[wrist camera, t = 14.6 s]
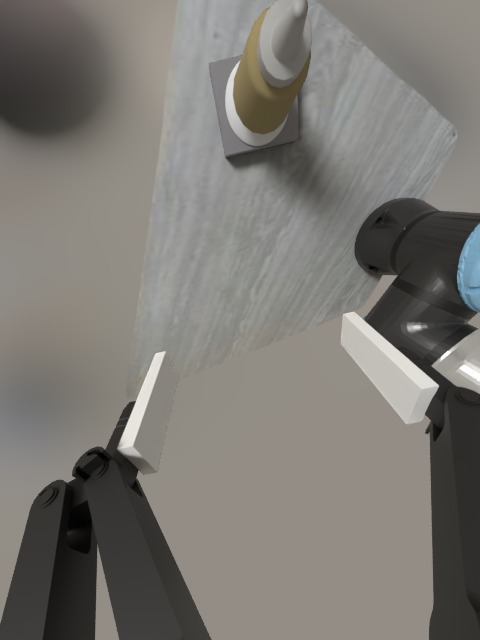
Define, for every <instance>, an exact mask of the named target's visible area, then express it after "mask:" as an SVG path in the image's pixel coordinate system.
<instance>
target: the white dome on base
mask: <svg viewBox="0 0 480 640" xmlns="http://www.w3.org/2000/svg"><path fill="white" fill-rule="evenodd" d="M241 57H242V55H240V56H236V57H232V58H228V59H224V60H220V61H216V62H212V63H209V69H210V76H211V82H212V87H213V93H214V98H215V103H216V109H217V114H218V120H219V125H220V131H221V136H222V142H223V147H224V153H225V158H227V157H231V156H236V155H240V154H244V153H248V152H252V151H257V150H261V149H265V148H269V147H274V146H278V145H282V144H286V143H291V142H294V141H296V140H297V139H299V124H298V95H297V97H296V99H295V101H294V103H293V105H292V107H291V109H290V111H289V112H288V114H287V116H286V118H285V120H284V122H283V123H282V124H281V125H280V126H279V127H278V128H277V129H276V130H275V131H273V132H270V133H267V134H264V135H263V134H258V133H253V132H251V131H250V130H249V129H248V128H247V127H245V126H244V125H243V124H242V122H241V120H240V118H239V116H238V115H237V113H236V109H235V104H234V99H233V86H234V77H235V74H236V71H237V68H238V66H239V63H240V60H241Z"/></svg>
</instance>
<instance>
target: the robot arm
mask: <svg viewBox="0 0 480 640" xmlns="http://www.w3.org/2000/svg"><path fill="white" fill-rule="evenodd" d="M355 256H356V259H357V262H358V263H359V265H360V266H361V267H362V268H364V269H365V270H367V271H369V272H371V273H374V274H379V275H398V276H397V277H396V279H395V280H394V281H393V283H392V284H391V285H390V286H389V288H388V289H387V290H386V292H385V293H384V294H383V296H382V297H381V298H380V299H379V301H378V302H377V303H376V305H375V306H374V307H373V309H372V310H371V311H370V312H369V313H368V315H367V316H365V317H364V318H363V319H362V318H360V317H359V316H358V315H357V314H356V313H355V312H350V313H345V314H343V322H342V333H341V345H342V346H343V347H344V348H345V350H346V351H347V352H348V353H349V355H350V356H351V357H352V358H353V359H354V361H355V362H356V363H357V364H358V366H359V367H360V368H361V369H362V370H363V372H364V373H365V374H366V375H367V377H368V378H369V379H370V380H371V381H372V383H373V384H374V385H375V386H376V388H377V389H378V390H379V391H380V392H381V394H382V395H383V396H384V397H385V399H386V400H387V401H388V402H389V404H390V405H391V406H392V407H393V408H394V410H395V411H396V412H397V413H398V414H399V416H400V417H401V418H402V419H403V421H404V422H405V423H406V424H411V423H416V422H421V421H422V420H423V417H424V416H425V415H426V416H427V417H428V418H429V419H430V420H431V422H430V424H429V426H428V428H427V429H426V432H425V433H426V434H428V433H429V432H430V461H431V462H430V463H431V505H432V546H433V591H434V605H433V611H432V614H431V618H430V626H429V640H480V329H478V328H476V327H473V326H471V325H469V324H468V323H467V322H468V321H469V320H470V319H471V318H472V317H474V316H475V315H476V314H477V313H478V312H480V213H466V212H449V211H439V210H438V209H436V208H434V207H433V206H431V205H429V204H428V203H426V202H424V201H422V200H420V199H415V198H398V199H394V200H391V201H389V202H387V203H385V204H383V205H381V206H380V207H379V208H377V209H376V210H375V211H374V212H373V213H372V214H371V215H370V216H369V217H368V218H367V219H366V221H365V222H364V223H363V225H362V227H361V228H360V230H359V233H358V235H357V238H356V242H355ZM178 379H179V376H178V374H177V372H176V370H175V368H174V366H173V364H172V363H171V361H170V359H169V357H168V355H167V353H166V351H165V352H160V353H156V354H155V356H154V359H153V361H152V364H151V366H150V369H149V371H148V373H147V376H146V378H145V381H144V383H143V386H142V388H141V391H140V393H139V396H138V398H137V401H134V402H130V403H129V404H128V405H127V406H126V407H125V409H124V410H123V412H122V414H121V416H120V419H119V421H118V423H117V425H116V428H115V430H114V432H113V434H112V436H111V439H110V441H109V443H108V445H107V447H106V450H104V449H103V448H102V447H95V448H92V449H90V450H88V451H87V452H86V453H85V454H83V455H82V456H81V457H80V458H79V460H78V461H77V462H76V464H75V466H74V469H73V472H72V476H74V477H75V478H76V479H74V480H72V481H70V482H68V483H67V482H65V481H63V480H56V481H54V482H52V483H51V484H49V485H48V486H46V487H45V488H44V489H43V490H42V491H41V492H40V493H39V494H38V496H37V497H36V499H35V500H34V502H33V504H32V506H31V509H30V512H29V517H28V520H27V524H26V528H25V532H24V536H23V539H22V543H21V547H20V551H19V555H18V559H17V563H16V566H15V570H14V574H13V577H12V581H11V586H10V589H9V593H8V597H7V600H6V604H5V608H4V612H3V616H2V620H1V623H0V640H95V612H96V576H97V575H96V574H97V544H98V548H99V552H100V556H101V561H102V565H103V570H104V574H105V579H106V583H107V587H108V592H109V596H110V600H111V605H112V609H113V614H114V618H115V622H116V627H117V631H118V635H119V640H211V638H210V636H209V634H208V632H207V629H206V627H205V625H204V623H203V620H202V618H201V616H200V614H199V612H198V610H197V607H196V605H195V603H194V601H193V599H192V596H191V594H190V592H189V590H188V588H187V586H186V583H185V581H184V579H183V577H182V575H181V572H180V571H179V568H178V566H177V564H176V562H175V560H174V557H173V555H172V553H171V551H170V548H169V546H168V544H167V542H166V540H165V538H164V536H163V533H162V531H161V529H160V527H159V525H158V522H157V520H156V518H155V516H154V514H153V511H152V509H151V507H150V505H149V503H148V501H147V498H146V496H145V494H144V492H143V490H142V488H141V485H140V483H139V481H138V480H137V479H136V477H137V473H138V470H139V471H140V472H141V473H142V474H143V475H145V474H150V473H156V472H158V467H159V463H160V458H161V454H162V450H163V445H164V441H165V436H166V432H167V427H168V423H169V418H170V414H171V410H172V405H173V400H174V396H175V392H176V387H177V383H178Z"/></svg>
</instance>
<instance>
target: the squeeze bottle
mask: <svg viewBox="0 0 480 640" xmlns="http://www.w3.org/2000/svg"><path fill="white" fill-rule="evenodd" d="M307 11H308V2H307V0H278V1H276V2H275V3H274V4H273V6H272V7H269V8H267V9H265V10H264V12H263V13H262V14H261V15H260V16H259V17H258V18H257V20H256V21H255V22H254V25H253V27H252V30H251V32H250V35H249V37H248V40H247V43H246V46H245V49H244V51H243V54H242V57H241V60H240V63H239V66H238V68H237V71H236V74H235V77H234V86H233V99H234V104H235V109H236V113H237V115H238V116H239V118H240V120H241V122H242V124H243V125H244V126H245V127H247V128H248V129H249V130H250V131H251V132H253V133H258V134H263V135H264V134H267V133H270V132H273V131H275V130H276V129H277V128H278V127H279V126H280V125H281V124H282V123H283V122H284V120H285V118H286V116H287V114H288V112H289V111H290V109H291V107H292V105H293V103H294V101H295V99H296V97H297V95H298V93H299V91H300V89H301V87H302V85H303V83H304V81H305V79H306V77H307V74H308V69H309V64H310V59H311V51H310V47H311V42H312V37H311V23H310V20H309V18H308V15H307Z"/></svg>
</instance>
